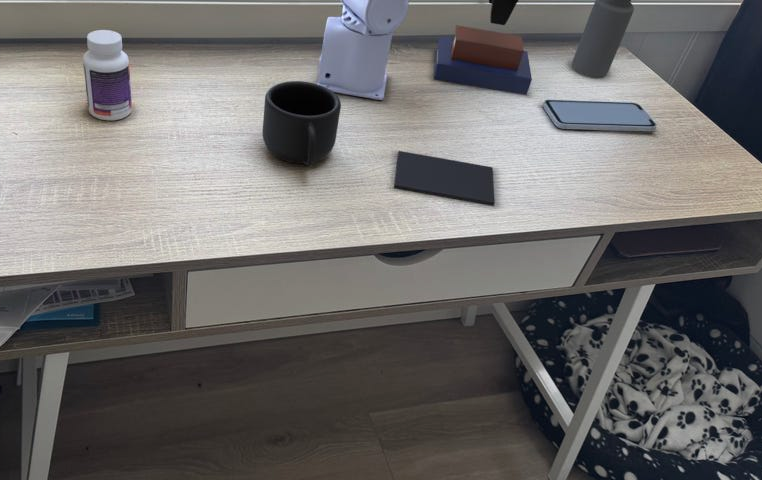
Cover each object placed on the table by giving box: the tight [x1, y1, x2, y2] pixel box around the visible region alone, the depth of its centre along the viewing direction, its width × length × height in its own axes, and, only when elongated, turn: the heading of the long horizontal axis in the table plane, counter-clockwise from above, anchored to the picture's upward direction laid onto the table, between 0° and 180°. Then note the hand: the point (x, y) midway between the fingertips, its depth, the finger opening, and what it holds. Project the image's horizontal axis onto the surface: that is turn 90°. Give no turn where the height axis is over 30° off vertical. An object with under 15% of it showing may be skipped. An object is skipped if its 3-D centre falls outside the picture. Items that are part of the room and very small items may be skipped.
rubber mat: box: [394, 150, 496, 206], centre depth 90 cm, size 12×8×1 cm, turn 81°
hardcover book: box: [433, 35, 533, 96], centre depth 112 cm, size 14×10×2 cm
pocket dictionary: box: [451, 24, 525, 70], centre depth 111 cm, size 10×6×3 cm, turn 81°
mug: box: [262, 80, 342, 167], centre depth 88 cm, size 12×9×7 cm
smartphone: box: [542, 99, 658, 132], centre depth 106 cm, size 7×1×15 cm
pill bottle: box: [82, 29, 133, 121], centre depth 90 cm, size 5×5×10 cm
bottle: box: [570, 0, 635, 79], centre depth 113 cm, size 6×6×15 cm
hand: (496, 13), depth 107 cm, fingers open, 7 cm apart
